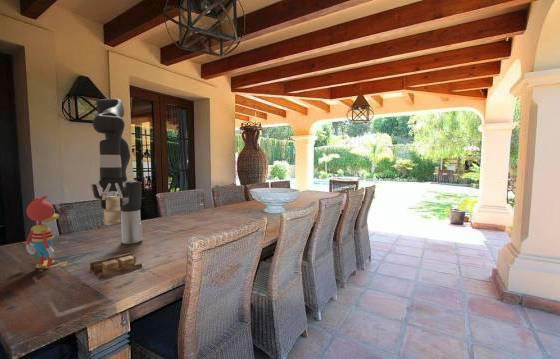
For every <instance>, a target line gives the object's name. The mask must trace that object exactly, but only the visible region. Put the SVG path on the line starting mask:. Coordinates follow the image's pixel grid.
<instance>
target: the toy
mask: <svg viewBox="0 0 560 359" xmlns="http://www.w3.org/2000/svg"><path fill="white" fill-rule="evenodd" d="M47 198H48V196H47V195H42V196H41V197H40V196H36V197H35V198H33V200H32V201H31V202H30V203H29V204H28V205H27V207H26V215H27V217H28V218H29V219H30V220H32V221H35V222H37V224H36V225H34V226H32V227H31V228H30V232H29V234H28V236H27V238H26V246H25V250H26V251H27V253H28V254H30V255H32V256H33V255H35V254H36V252H37V256H39V258H40V259H39V261H38V263H37V264H36V265H35V268H36V269H42V268H45V269H49V268H52V267H57V266H62V267H63V266H66V265H68V264H69V262H68V261H62V262H58V263H57V264H54V263H55V262H56V260H55V259H53V258H54V257H55V255H56V252H55V250H54V248H53V242H52V240H53V239H54V237H55V236H54V234H53V232H52V230H51V229H50V227H49V226H48V225H47V224H42V223H50V222H53V221H55V220H58V219H59V217H60V216H59V214H58V213H56V211H55V209H56V205H55V204H51V203H49V202H48V201H45V200H46V199H47ZM31 241H32V242H33V243H31ZM46 258H47V259H46ZM45 259H46V260H45ZM53 264H54V265H53Z"/></svg>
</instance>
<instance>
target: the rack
mask: <svg viewBox="0 0 560 359" xmlns="http://www.w3.org/2000/svg"><path fill="white" fill-rule="evenodd" d="M126 256H132V257H134V262H135V264H134V265H130V266H127V267H123V268H119V269H115V270H112V271H108V272H104V273H102V262H106V261H110V260H114V259H115V260H116V261H118V265H119V258H122V257H126ZM140 268H144V266H143V263H142V262H138V261H137V262H136V255H131V253H130V252H128V253H125V254H120V255H119V254H118V255H115V256H111V257H107V258H103V259H99V260H94V261H91V262H89V269H88V271H89V272H90V273H92V275H94V276H95V277H96V278H98V280H102V279H105V278H109V277H112V276H116V275H119V274H120V275H121V274H124V273H126V272H127V273H128V272H131V271H134V270H137V269H140Z"/></svg>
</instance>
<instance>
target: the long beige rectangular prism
mask: <svg viewBox="0 0 560 359" xmlns="http://www.w3.org/2000/svg"><path fill="white" fill-rule="evenodd" d="M105 200H106V209H103V221H104V222H103V224H104V225H105V226H111V225H116V224H121V207H120V196H117V195H112V196H110V195H109V196H106V198H105Z"/></svg>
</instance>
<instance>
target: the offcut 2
mask: <svg viewBox="0 0 560 359" xmlns="http://www.w3.org/2000/svg"><path fill="white" fill-rule="evenodd" d="M132 256H133V255H131V256H126V257H122V258H119V268H123V267H127V266H130V265H134V264H135V262H134V257H132Z"/></svg>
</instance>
